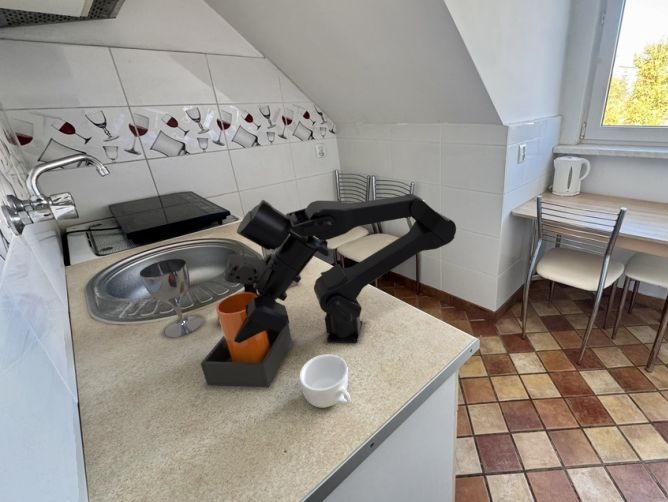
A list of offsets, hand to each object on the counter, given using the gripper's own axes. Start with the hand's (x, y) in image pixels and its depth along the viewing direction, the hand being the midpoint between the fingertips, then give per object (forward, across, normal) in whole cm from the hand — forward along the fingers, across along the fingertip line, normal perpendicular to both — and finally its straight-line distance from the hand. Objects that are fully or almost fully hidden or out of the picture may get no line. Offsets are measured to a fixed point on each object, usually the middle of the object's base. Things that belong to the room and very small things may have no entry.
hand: (236, 329), depth 58 cm
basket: (+5, 0, +7) cm, 8 cm away
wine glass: (+14, -19, -2) cm, 24 cm away
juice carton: (-1, -28, +14) cm, 31 cm away
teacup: (-3, +15, +15) cm, 21 cm away
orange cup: (+4, 0, +6) cm, 7 cm away
